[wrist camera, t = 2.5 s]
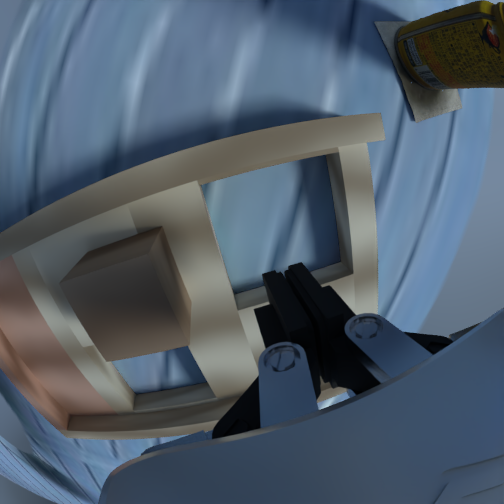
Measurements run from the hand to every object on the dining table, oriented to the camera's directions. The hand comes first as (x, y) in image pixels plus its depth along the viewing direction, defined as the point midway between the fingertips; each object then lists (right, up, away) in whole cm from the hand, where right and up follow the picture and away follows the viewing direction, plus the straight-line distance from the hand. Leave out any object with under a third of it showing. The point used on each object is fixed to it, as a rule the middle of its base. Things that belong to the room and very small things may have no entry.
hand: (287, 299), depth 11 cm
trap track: (-8, -3, +7) cm, 11 cm away
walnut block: (-8, 0, +4) cm, 9 cm away
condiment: (+12, +17, +3) cm, 21 cm away
